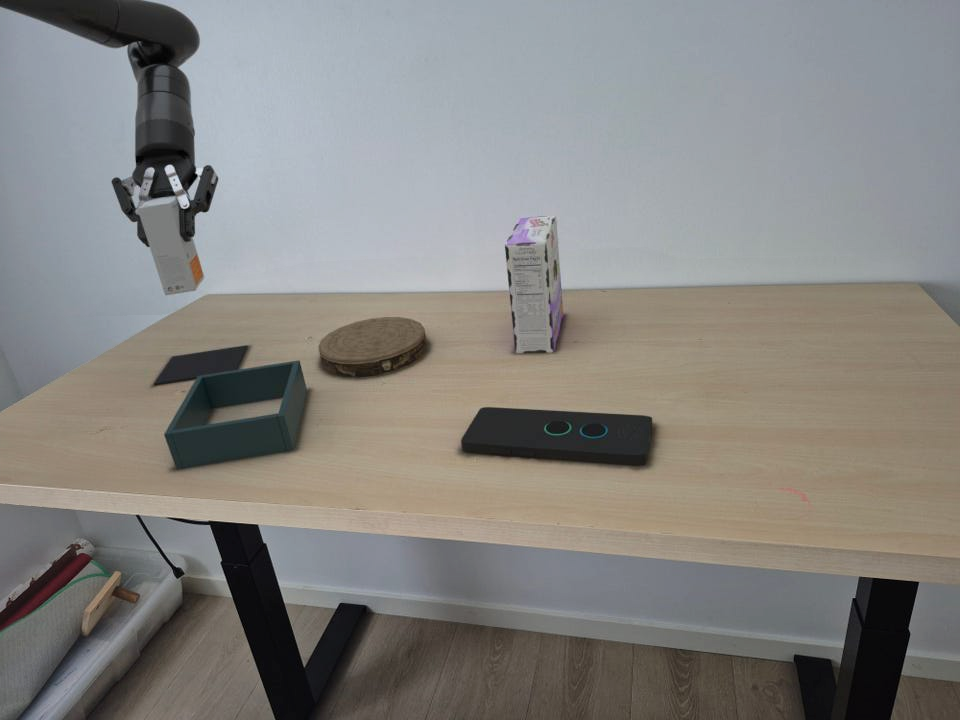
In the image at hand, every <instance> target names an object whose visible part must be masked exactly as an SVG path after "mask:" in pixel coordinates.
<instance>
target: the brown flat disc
mask: <svg viewBox="0 0 960 720" xmlns="http://www.w3.org/2000/svg"><path fill="white" fill-rule="evenodd" d="M317 348H318V353H319V356H320V362H321V365H322V368H323V370H324V371H325V372H327V373H328V374H330V375H332V376H335V377H340V378H344V379H345V378H346V379H364V378H365V379H366V378H375V377H379V376H383V375H387V374H392V373H395V372H397V371H400V370H403V369H406V368H408V367H410V366H411V365H413V364H415V363H416V362H417V361H419V360H420V359H422V357H423V356H424V355H425V354H426V353H427V348H428V341H427V335H426V329H425V326H423V324H422V323H421V322H419V321H417V320H415V319H412V318H409V317H401V316H383V317H375V318H367V319H364V320H359V321H355V322H351V323H349V324H346V325H343V326H340V327H338V328H336V329H335V330H333V331H331V332H328V334H326V335H325V336H324V337H323V338H321V340H320V341H319V344H318V346H317Z"/></svg>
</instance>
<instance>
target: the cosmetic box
mask: <svg viewBox="0 0 960 720" xmlns="http://www.w3.org/2000/svg"><path fill="white" fill-rule="evenodd" d="M180 210H181V206H180V204H179V202H178V199H177V197H176V196H168V197H161V198H154V199H151V200H149V201H147V202H145V203H143V205H142V206H141V207H139V208H138V212H139V215H140V218H141V222H142V225H143V228H144V231H145V234H146V237H147V240H148V243H149V246H150V247H149V249H150V252H151V255H152V258H153V259H152V260H153V261H154V265H155V268H156V270H157V274H158V277H159V280H160V283H161V286H162V290H163V293H164V295H165V296H172V295H176V294H177V295H178V294H182V293H183V294H184V293H191V292H195V291H197V289H198V287H199V286H200V285H201V283H202V282H203V281H204V279H205V275H204V271H203V268H202V265H201V262H200V258H199V254H198V250H197V247H196V244H195V241H194V237H191V241H189V242H185V241H184V240H183V239H182V237H181V236H180V225H179V211H180Z"/></svg>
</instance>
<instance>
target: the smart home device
mask: <svg viewBox="0 0 960 720" xmlns="http://www.w3.org/2000/svg"><path fill="white" fill-rule="evenodd" d="M652 434H653V417H652V416H649V415H643V414H627V413H626V414H623V413H608V412H607V413H606V412H589V411H587V412H586V411H572V410H571V411H569V410H554V409H553V410H552V409H550V410H549V409H533V408H531V409H530V408H517V407H516V408H511V407H498V406H497V407H495V406H485V407H481V408H479V410H478V411H477V413H476V415H475V416H474V418H473V419H472V421H471V422H470V424H469V425H468V428H467V429H466V431H465V433H464V434H463V435H462V437H461V439H460V444H461V450H462V452H463V453H466V454H472V455H482V456H483V455H484V456H495V457H496V456H497V457H498V456H499V457H510V458H524V459H538V460H549V461H562V462H563V461H564V462H576V463H590V464H601V465H602V464H603V465H614V466H615V465H617V466H629V467H643V466H646V465H647V461H648V456H649V450H650V444H651V439H652Z"/></svg>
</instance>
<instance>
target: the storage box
mask: <svg viewBox="0 0 960 720" xmlns="http://www.w3.org/2000/svg"><path fill="white" fill-rule="evenodd" d="M307 394H308V389H307V384H306V380H305V377H304V373H303V369H302V365H301V360H299V359H298V360H294V361H293V360H292V361H285V362H278V363H273V364H267V365H260V366H253V367H246V368H241V369H237V370H233V371H227V372H220V373H214V374H207V375H201V376H198V377H197V378H196V379H194V382H193V384H192V385H191V387H190V389H189V390H188V392H187V394H186V396H185V397H184V398H183V400H182V402H181V404H180V406H179V408H178V409H177V411H176V413H175V415H174V416H173V418H172V420H171V421H170V424H169V425H168V426H167V429H166V430H165V432H164V434H163V436H164V438H165V442H166V445H167V447H168V450H169V453H170V455H171V458H172V461H173V463H174V464H173V465H174V466H175V469H176V470H181V469H187V468H194V467H201V466H205V465H207V466H208V465H214V464H220V463H224V462H231V461H237V460H242V459H251V458H255V457H262V456H268V455H273V454H274V455H275V454H281V453H287V452H292V451H293V452H294V450H295V446H296V442H297V437H298V434H299V429H300V424H301V421H302V415H303V412H304V407H305V402H306V400H307V399H306V398H307ZM281 398H282V400H281V403H280V407H279V410H278V413H271V414H266V415H265V414H264V415H259V416H253V417H246V418H240V419H234V420H228V421H222V422H221V421H220V422H214V423H209V424H208V423H207V424H206V422H207V420H208V418H209V417H210V414H211V412H212V410H213V409H217V408H225V407H230V406H238V405H244V404H249V403H257V402H262V401H268V400H275V399H281Z"/></svg>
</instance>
